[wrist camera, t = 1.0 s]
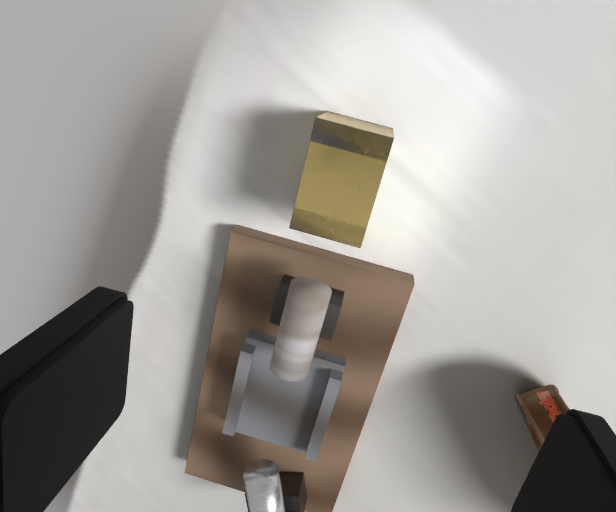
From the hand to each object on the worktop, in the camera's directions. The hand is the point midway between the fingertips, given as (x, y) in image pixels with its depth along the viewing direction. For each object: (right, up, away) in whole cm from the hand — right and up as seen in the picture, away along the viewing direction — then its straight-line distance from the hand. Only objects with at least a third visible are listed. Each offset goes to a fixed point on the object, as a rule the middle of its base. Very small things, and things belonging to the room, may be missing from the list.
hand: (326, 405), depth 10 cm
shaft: (-3, -13, +26) cm, 29 cm away
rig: (-2, -6, +25) cm, 26 cm away
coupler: (+2, +9, +19) cm, 21 cm away
